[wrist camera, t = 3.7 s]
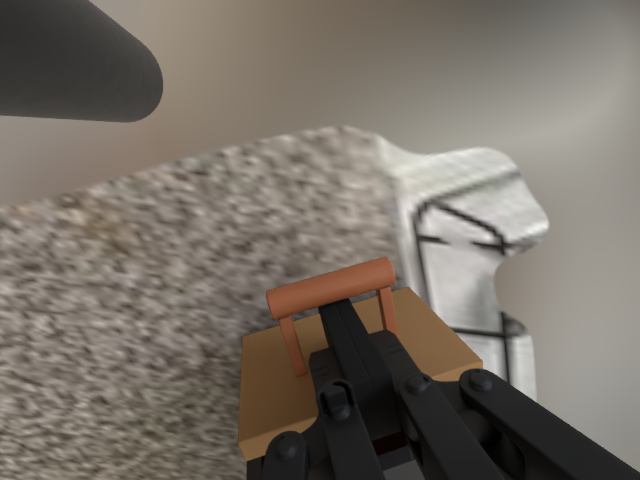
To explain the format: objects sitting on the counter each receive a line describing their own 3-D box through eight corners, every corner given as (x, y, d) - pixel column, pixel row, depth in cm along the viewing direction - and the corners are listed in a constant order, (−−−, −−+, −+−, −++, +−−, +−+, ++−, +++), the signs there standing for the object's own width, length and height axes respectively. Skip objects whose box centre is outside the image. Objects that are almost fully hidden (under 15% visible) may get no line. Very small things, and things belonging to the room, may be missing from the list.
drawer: (217, 267, 20) (196, 349, 12) (399, 217, 21) (478, 264, 14) (293, 477, 26) (309, 613, 19) (429, 430, 27) (494, 540, 20)
